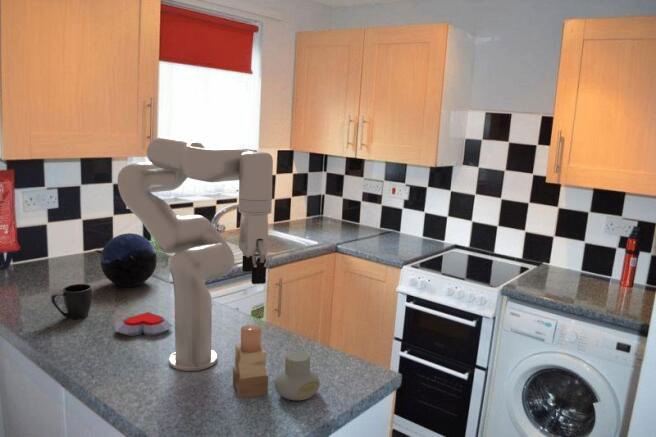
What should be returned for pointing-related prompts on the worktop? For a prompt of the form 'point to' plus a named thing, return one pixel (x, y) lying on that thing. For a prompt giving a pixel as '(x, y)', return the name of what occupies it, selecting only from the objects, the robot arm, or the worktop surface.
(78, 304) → the mug
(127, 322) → the sculpture
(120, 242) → the decorative sphere
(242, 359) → the top block
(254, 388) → the base block
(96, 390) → the worktop surface
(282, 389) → the air freshener
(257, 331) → the brown rounded cylinder
